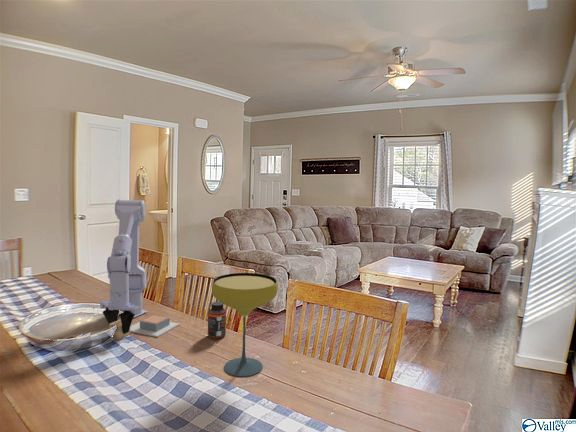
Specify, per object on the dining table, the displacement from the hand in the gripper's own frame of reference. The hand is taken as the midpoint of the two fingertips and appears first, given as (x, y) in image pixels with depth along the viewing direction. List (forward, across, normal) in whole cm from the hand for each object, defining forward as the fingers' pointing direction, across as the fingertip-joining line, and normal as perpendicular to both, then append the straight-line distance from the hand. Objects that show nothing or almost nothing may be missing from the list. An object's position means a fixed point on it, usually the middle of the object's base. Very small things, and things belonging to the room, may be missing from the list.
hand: (119, 331), depth 126 cm
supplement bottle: (+2, +29, +13) cm, 32 cm away
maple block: (+2, 0, 0) cm, 2 cm away
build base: (+2, +5, +10) cm, 11 cm away
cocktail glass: (+2, +47, -3) cm, 47 cm away
